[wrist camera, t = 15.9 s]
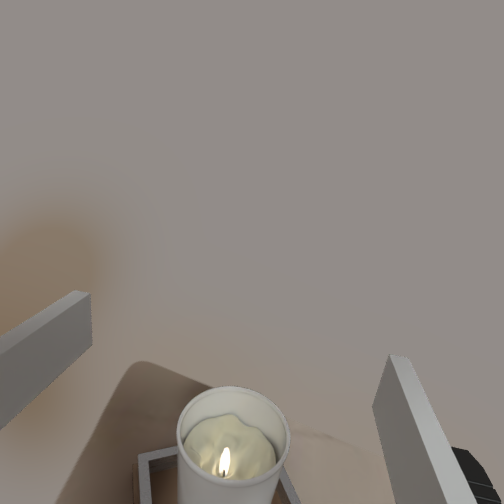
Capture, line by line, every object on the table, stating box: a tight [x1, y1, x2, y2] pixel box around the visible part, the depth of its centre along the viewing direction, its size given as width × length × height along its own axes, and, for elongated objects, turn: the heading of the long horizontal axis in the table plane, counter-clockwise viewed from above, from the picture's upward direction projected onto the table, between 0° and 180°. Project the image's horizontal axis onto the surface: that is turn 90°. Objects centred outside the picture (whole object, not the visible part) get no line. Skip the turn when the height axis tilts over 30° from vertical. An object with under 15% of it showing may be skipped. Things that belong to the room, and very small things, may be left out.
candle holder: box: [176, 386, 290, 504], centre depth 30 cm, size 10×10×12 cm
